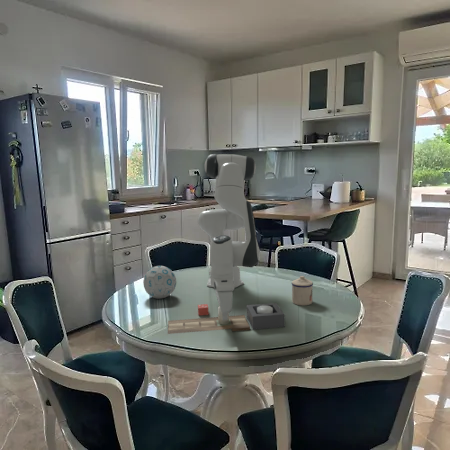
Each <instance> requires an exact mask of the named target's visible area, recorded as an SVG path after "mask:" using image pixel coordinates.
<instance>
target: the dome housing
mask: <svg viewBox="0 0 450 450" xmlns="http://www.w3.org/2000/svg"><path fill="white" fill-rule="evenodd" d="M264 305H265V306H271V307H272V308H273V313H266V314H257V307H259V306H264ZM246 320H247V322H248V324H249V326H250V328H251V329H252V330H254V331H255V330H264V329H265V330H266V329H275V328H285V313H284V312H283V310H282V308H280V306H279V305H278V303H277V302H269V303H259V304H246Z"/></svg>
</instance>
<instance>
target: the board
mask: <svg viewBox="0 0 450 450" xmlns="http://www.w3.org/2000/svg"><path fill="white" fill-rule="evenodd" d="M221 330H231V331H232V332H239V331H240V332H241V331H251V325H250V323H249V321H248V319H247V316H246V315H245V314H240V315H237V314H236V315H229V323H228V324H225V325H222V324H219V323H218V316H213V317H200V318H199V317H198V318H188V319H175V320H174V319H172V320H167V335H172V334H182V333H183V334H185V333H195V332H196V333H197V332H207V331H208V332H209V331H221Z"/></svg>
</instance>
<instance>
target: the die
mask: <svg viewBox="0 0 450 450" xmlns="http://www.w3.org/2000/svg"><path fill="white" fill-rule="evenodd" d="M209 312H210V311H209V304H208V303H206V304H205V303H204V304H197V313H198V316H208V315H209Z"/></svg>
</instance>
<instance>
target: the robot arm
mask: <svg viewBox="0 0 450 450" xmlns="http://www.w3.org/2000/svg"><path fill="white" fill-rule="evenodd" d="M256 167H257V165H256V161H255V159H254V158H253V157H252V156H248V155H245V156H244V155H241V154H234V153H233V154H229V153H227V154H226V153H223V154H222V153H220V154H217V153H213V154H211V153H210V154H209V155H207V158H206V159H205V161H204V172H205V175H206V176H207V177H208V178H211V179H215V183H214V184H215V185H214V186H215V187H214V194H213V195H214V200H215V202H216V203H218V205H219V206H220V207H221V208H216V209H215V208H213V209H208V210H204V211H201V212H200V213H199V214H198V217H197V225H198V227H199V229H200V230H201V231H203V232H204V233H206V235H207V236H208V237H209V239H210V245H209V246H210V247H209V262H210V270H208V275H209V277H208V280H207V283H206V287H208V288H209V287H210V288H213V289H214V290H215V296H216V299H217V302H218V307H219V306H220V309H221V312H222V318H223V320H227V319H228V312H229V313H230V312H232V309H233V296H234V295H233V294H234V293H233V291H235V288H237V287H239V286H243V285H244V284H245V282H244V281H243V280H242V279H241V270H240V268H239V267H245V268H253V267H255V266H256V265H257V264H258V263H259V262H260V259H261V252H260V251H261V250H260V247H259V243H258V238H257V231H256V230H257V229H256V221H255V217H254V211H253V206H252V204H251V201H248V200H247V198H246V196H245V181H249V180H251V179H253V178H254V175H255V173H256V169H257V168H256ZM241 229H244V232H245V238H246V239H245V240H244V241H243V240H240V241H238V240H233V239H232V237H230V236H229V235H225V234H224V233H225V231H226V232H227V231H238V230H241Z"/></svg>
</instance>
